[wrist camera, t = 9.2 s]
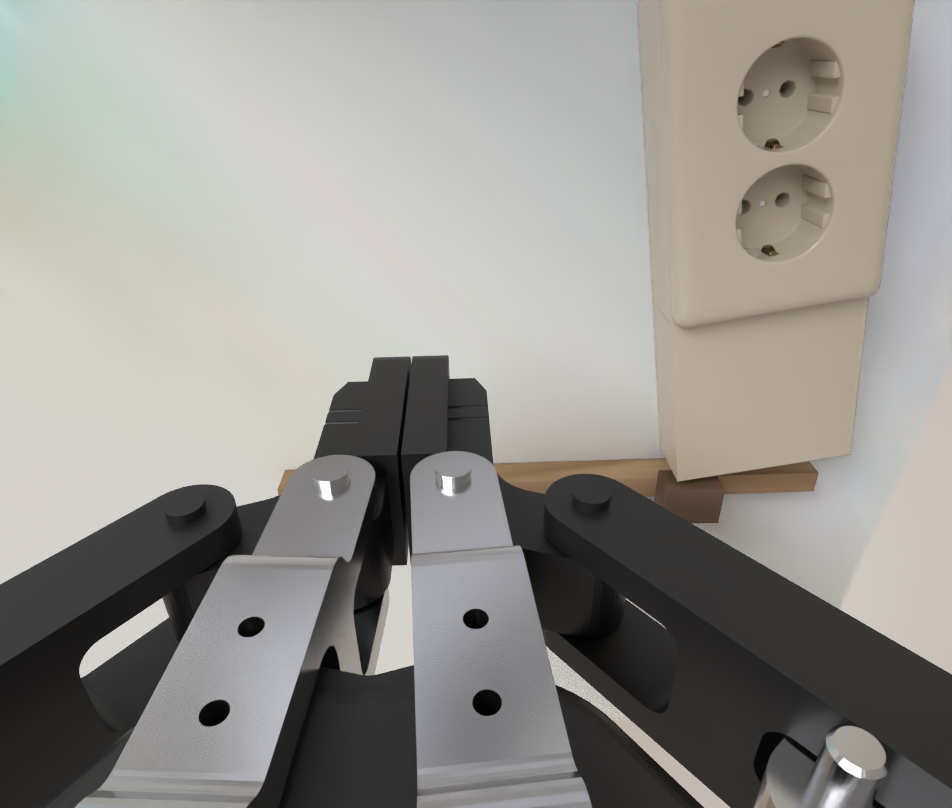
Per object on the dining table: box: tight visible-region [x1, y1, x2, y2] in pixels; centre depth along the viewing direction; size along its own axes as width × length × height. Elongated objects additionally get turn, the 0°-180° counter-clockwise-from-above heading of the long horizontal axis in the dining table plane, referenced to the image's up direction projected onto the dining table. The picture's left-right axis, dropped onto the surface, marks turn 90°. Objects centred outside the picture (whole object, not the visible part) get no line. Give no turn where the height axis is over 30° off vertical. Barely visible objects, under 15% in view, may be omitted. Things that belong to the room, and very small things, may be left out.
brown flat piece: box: [278, 459, 818, 523], centre depth 24 cm, size 24×24×3 cm
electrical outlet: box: [637, 0, 915, 482], centre depth 24 cm, size 7×4×18 cm
